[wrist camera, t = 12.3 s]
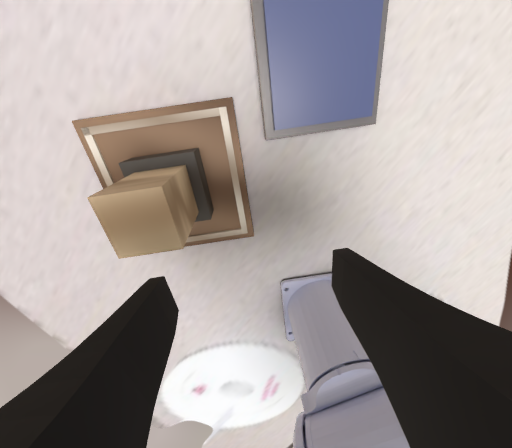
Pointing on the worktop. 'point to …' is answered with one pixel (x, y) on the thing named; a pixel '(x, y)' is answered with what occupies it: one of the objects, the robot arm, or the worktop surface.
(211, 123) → the board
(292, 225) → the worktop surface
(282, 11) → the ink pad
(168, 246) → the stamp
